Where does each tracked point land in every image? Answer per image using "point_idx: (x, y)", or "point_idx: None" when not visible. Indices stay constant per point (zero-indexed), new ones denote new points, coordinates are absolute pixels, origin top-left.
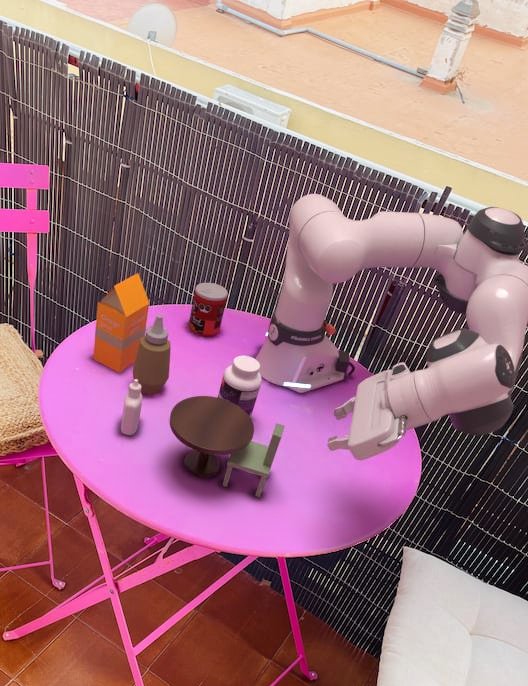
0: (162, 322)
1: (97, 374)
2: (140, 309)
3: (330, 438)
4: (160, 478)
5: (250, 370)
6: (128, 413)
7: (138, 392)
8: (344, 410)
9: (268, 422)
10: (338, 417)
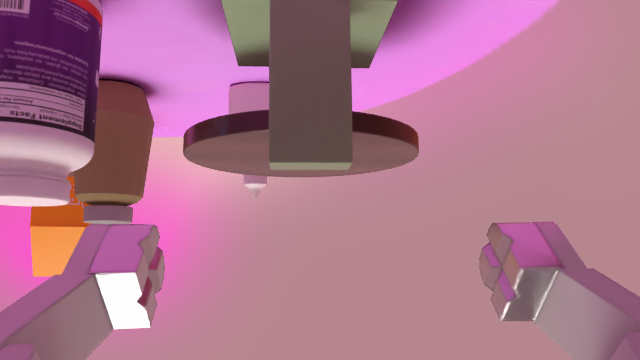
0: None
1: (154, 118)
2: (62, 223)
3: (490, 284)
4: (382, 47)
5: (44, 198)
6: None
7: (261, 176)
8: (102, 306)
9: None
10: (155, 247)
